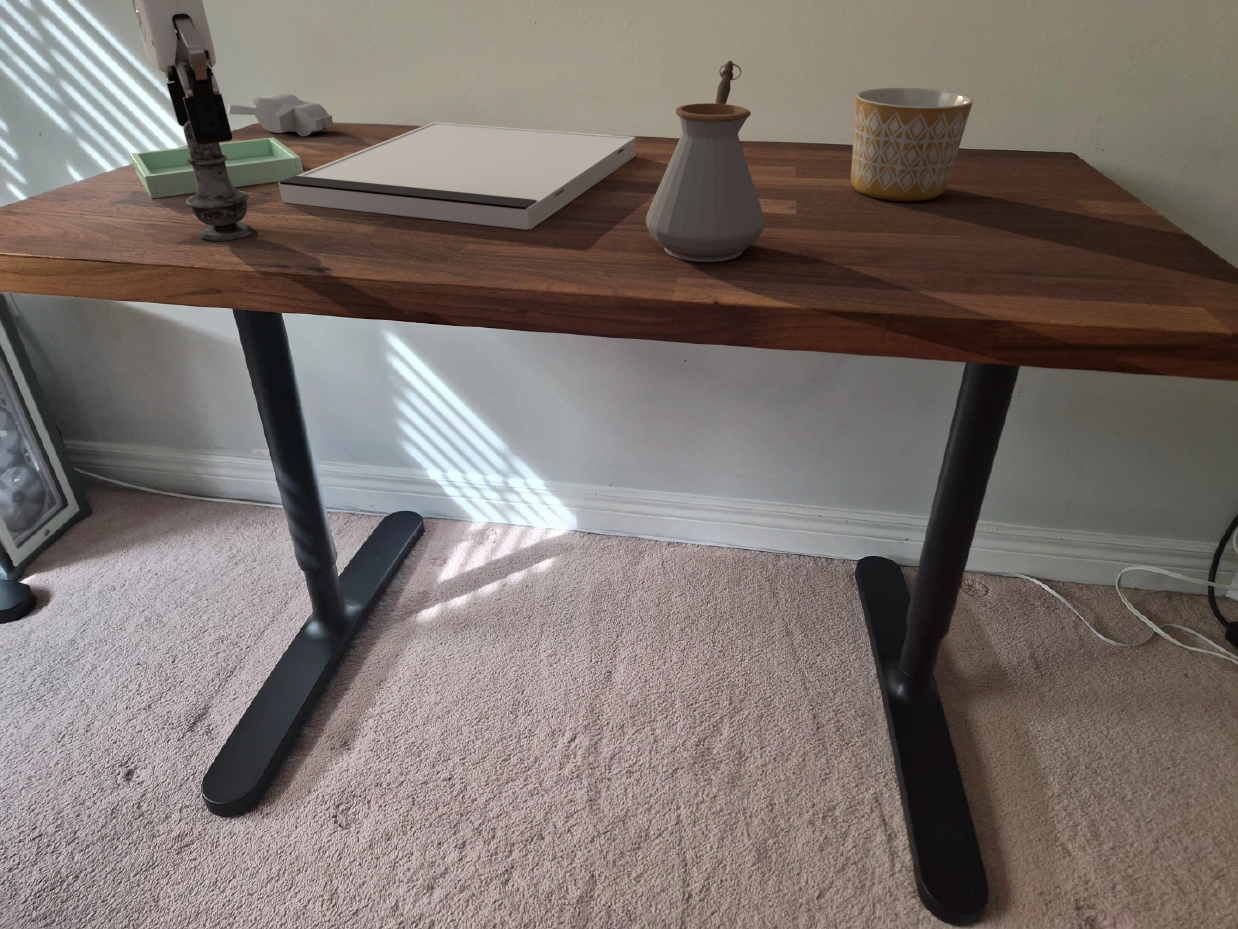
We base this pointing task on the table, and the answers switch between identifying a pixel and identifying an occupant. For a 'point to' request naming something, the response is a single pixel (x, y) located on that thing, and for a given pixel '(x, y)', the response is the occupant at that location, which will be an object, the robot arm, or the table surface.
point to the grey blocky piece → (286, 114)
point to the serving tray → (243, 164)
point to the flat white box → (465, 174)
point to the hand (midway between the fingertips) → (205, 132)
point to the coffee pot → (707, 185)
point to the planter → (906, 142)
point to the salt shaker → (215, 193)
